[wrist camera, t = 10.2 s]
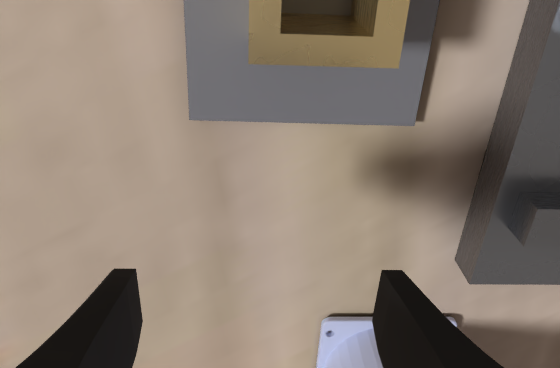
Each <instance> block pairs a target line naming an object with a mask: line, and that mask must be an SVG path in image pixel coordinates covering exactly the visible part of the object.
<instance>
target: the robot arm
mask: <svg viewBox="0 0 560 368" xmlns="http://www.w3.org/2000/svg"><path fill="white" fill-rule="evenodd" d="M142 322H143V320H142V313H141V305H140V297H139V289H138V281H137V274H136V269H113V270H112V271H111V272H110V273H109V275H108V276H107V277H106V278H105V279H104V280H103V281H102V283H101V284H100V285H99V286H98V287H97V288H96V289H95V291H94V292H93V293H92V294H91V295H90V296H89V297H88V298H87V300H86V301H85V302H84V303H83V304H82V305H81V306H80V307H79V308H78V309H77V310H76V311H75V312H74V314H73V315H72V316H71V317H70V318H69V319H68V320H67V321H66V322H65V323H64V324H63V325H62V326H61V327H60V328H59V329H58V330H57V331H56V332H55V333H54V334H53V335H52V336H51V337H49V338H48V339H47V340H46V341H45V342H44V343H43V344H42V345H41V346H40V347H39V348H38V349H37V350H36V351H34V352H33V353H32V354H31V355H30V356H29V357H28V358H26V359H25V360H24V361H23V362H22V363H20V364H19V365H18V366H17V367H16V368H132V366H133V363H134V360H135V357H136V353H137V348H138V343H139V338H140V333H141V327H142ZM327 331H331V332H327ZM316 368H503V367H502V366H501V365H500V364H498V363H497V362H496V361H495V360H493V359H492V358H491V357H490V356H488V355H487V354H486V353H485V352H483V351H482V350H481V349H480V348H479V347H477V346H476V345H475V344H474V343H473V342H472V341H471V340H470V339H469V338H467V337H466V336H465V335H464V334H463V333H462V332H461V331H460V330H459V329H458V328H457V323H456V321H455V319H454V318H453V317H445V316H444V315H443V314H442V313H441V312H440V311H439V310H438V308H437V307H436V306H435V305H434V304H433V303H432V302H431V301H430V300H429V299H428V298H427V297H426V296H425V295H424V294H423V292H422V291H421V290H420V289H419V288H418V287H417V286H416V285H415V284H414V283H413V282H412V280H411V279H410V278H409V277H408V276H407V275H406V274H405V273H404V272H403V271H402V270H382V272H381V277H380V282H379V287H378V292H377V297H376V302H375V308H374V313H373V317H327V318H325V319H324V320H323V321H322V323H321V331H320V339H319V347H318V355H317V363H316Z"/></svg>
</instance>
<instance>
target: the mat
mask: <svg viewBox="0 0 560 368" xmlns="http://www.w3.org/2000/svg"><path fill="white" fill-rule="evenodd" d="M439 1H440V0H410V3H409V9H408V15H407V21H406V27H405V33H404V39H403V45H402V51H401V57H400V63H399V69H398V68H363V67H328V66H294V65H259V64H248V54H249V0H184V17H185V37H186V58H187V79H188V100H189V120H208V121H245V122H283V123H320V124H357V125H394V126H414V125H415V120H416V115H417V110H418V105H419V100H420V95H421V91H422V86H423V81H424V76H425V71H426V66H427V61H428V56H429V51H430V46H431V41H432V36H433V31H434V26H435V21H436V16H437V11H438V6H439ZM351 6H352V0H282V4H281V13H297V14H325V15H351Z"/></svg>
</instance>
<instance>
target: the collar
mask: <svg viewBox="0 0 560 368" xmlns="http://www.w3.org/2000/svg"><path fill="white" fill-rule="evenodd" d="M409 3H410V0H352V6H351V15H325V14H297V13H281V4H282V0H249V54H248V64H259V65H294V66H328V67H363V68H398V69H399V63H400V57H401V51H402V45H403V39H404V33H405V27H406V21H407V15H408V9H409Z"/></svg>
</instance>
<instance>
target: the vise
mask: <svg viewBox="0 0 560 368" xmlns="http://www.w3.org/2000/svg"><path fill="white" fill-rule="evenodd" d="M455 261H456V263H457V264H458V266H459V268H460V269H461V271H462V273H463V274H464V276H465V278H466V279H467V281H468V283H469V284H552V285H560V0H530V2H529V5H528V9H527V12H526V16H525V19H524V23H523V26H522V29H521V33H520V36H519V40H518V43H517V47H516V50H515V54H514V57H513V61H512V64H511V67H510V71H509V74H508V78H507V81H506V85H505V88H504V92H503V95H502V98H501V102H500V105H499V109H498V112H497V116H496V119H495V123H494V126H493V129H492V133H491V136H490V140H489V143H488V147H487V150H486V154H485V157H484V161H483V164H482V167H481V171H480V174H479V178H478V181H477V185H476V188H475V192H474V195H473V198H472V202H471V205H470V209H469V212H468V216H467V219H466V223H465V226H464V230H463V233H462V236H461V240H460V243H459V247H458V250H457V254H456V257H455Z"/></svg>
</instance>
